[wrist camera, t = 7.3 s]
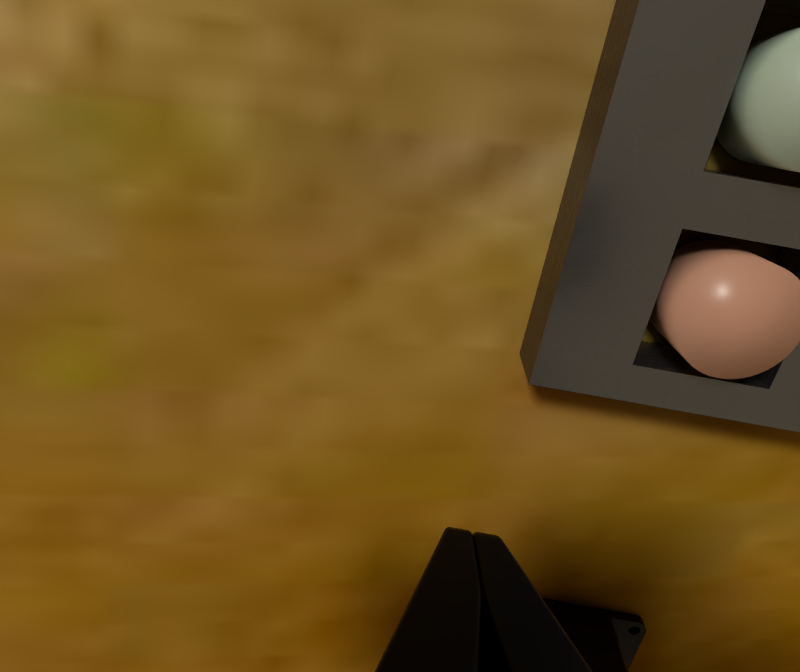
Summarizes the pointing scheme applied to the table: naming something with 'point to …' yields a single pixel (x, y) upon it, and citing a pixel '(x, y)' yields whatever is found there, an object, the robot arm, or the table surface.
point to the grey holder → (657, 215)
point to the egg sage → (766, 104)
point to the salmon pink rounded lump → (728, 309)
